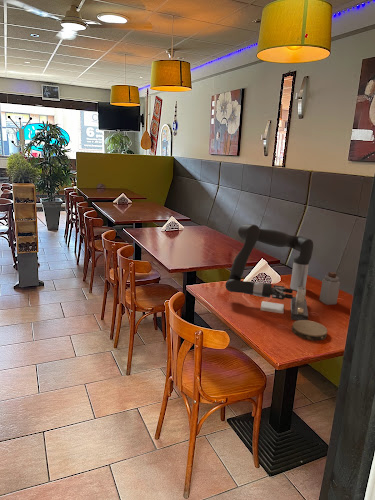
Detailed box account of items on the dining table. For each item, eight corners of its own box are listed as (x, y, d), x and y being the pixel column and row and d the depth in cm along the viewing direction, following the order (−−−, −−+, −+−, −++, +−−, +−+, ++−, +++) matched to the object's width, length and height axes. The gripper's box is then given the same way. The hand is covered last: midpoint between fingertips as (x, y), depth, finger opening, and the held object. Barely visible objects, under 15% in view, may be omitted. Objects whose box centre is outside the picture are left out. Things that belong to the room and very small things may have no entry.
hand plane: (290, 302, 213) (292, 292, 211) (305, 304, 211) (306, 294, 209) (291, 319, 190) (292, 308, 188) (307, 322, 188) (308, 311, 187)
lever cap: (295, 303, 202) (297, 286, 200) (303, 304, 201) (305, 287, 199) (295, 306, 198) (298, 289, 195) (303, 307, 197) (306, 290, 194)
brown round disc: (319, 326, 185) (319, 320, 184) (331, 342, 170) (333, 336, 169) (287, 324, 185) (288, 319, 184) (297, 340, 169) (298, 334, 168)
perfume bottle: (326, 304, 212) (331, 275, 208) (319, 300, 218) (323, 271, 214) (336, 304, 214) (341, 274, 209) (329, 299, 220) (333, 270, 216)
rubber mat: (261, 301, 211) (261, 301, 210) (283, 305, 208) (283, 304, 208) (260, 310, 199) (260, 309, 199) (283, 313, 197) (283, 312, 196)
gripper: (261, 287, 195) (293, 292, 191) (263, 279, 209) (293, 283, 205) (260, 300, 197) (291, 305, 193) (262, 291, 210) (291, 295, 207)
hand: (292, 294), depth 199 cm, fingers open, 8 cm apart
